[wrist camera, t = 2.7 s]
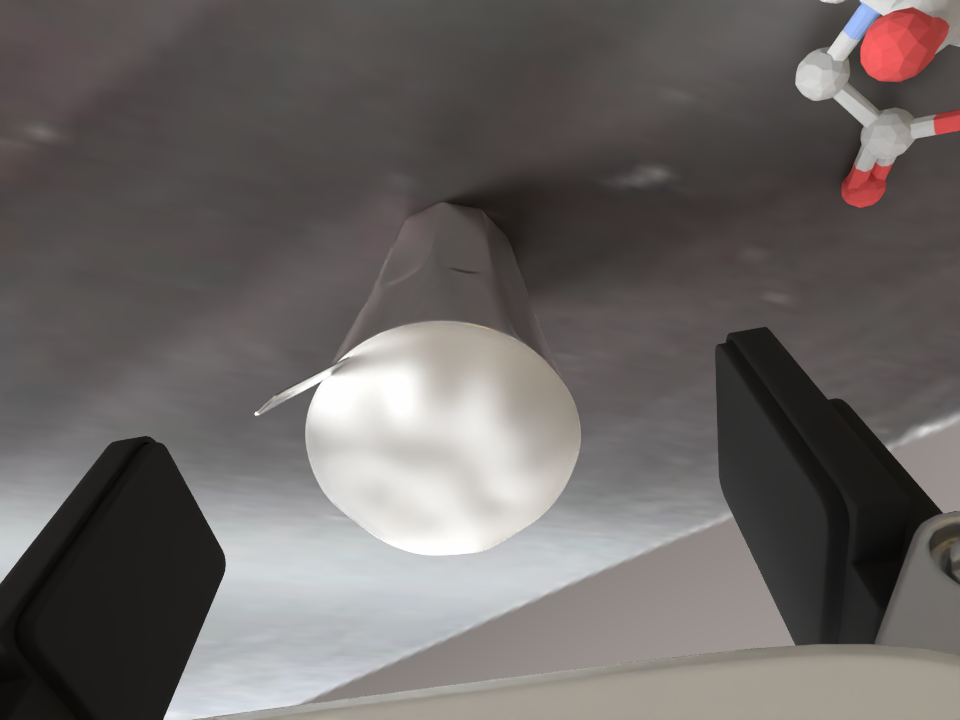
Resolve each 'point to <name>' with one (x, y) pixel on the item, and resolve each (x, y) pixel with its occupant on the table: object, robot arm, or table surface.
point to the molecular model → (886, 57)
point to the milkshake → (443, 396)
